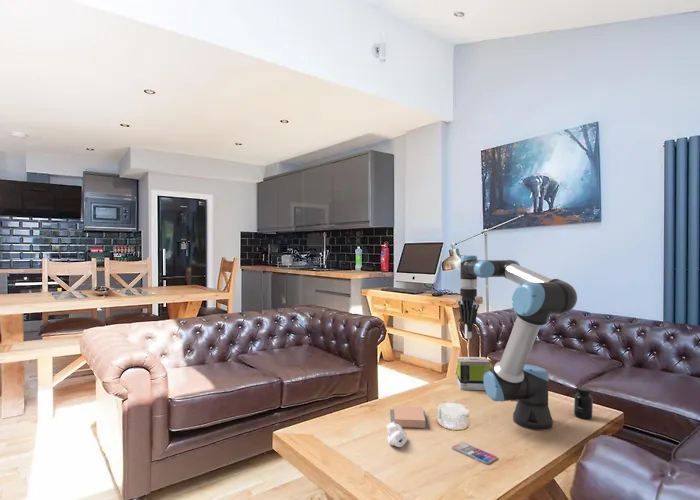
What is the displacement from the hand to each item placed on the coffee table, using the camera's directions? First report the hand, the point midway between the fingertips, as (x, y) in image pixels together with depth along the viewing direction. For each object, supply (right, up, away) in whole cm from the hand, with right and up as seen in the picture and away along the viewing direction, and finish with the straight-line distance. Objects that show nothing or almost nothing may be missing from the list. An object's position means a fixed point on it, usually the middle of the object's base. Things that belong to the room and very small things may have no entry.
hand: (468, 338), depth 199 cm
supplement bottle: (+44, -30, -18) cm, 56 cm away
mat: (-31, -30, -22) cm, 48 cm away
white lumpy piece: (-38, -30, -41) cm, 64 cm away
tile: (-31, -27, -17) cm, 45 cm away
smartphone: (-12, -31, -50) cm, 60 cm away
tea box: (+8, -29, +19) cm, 36 cm away
